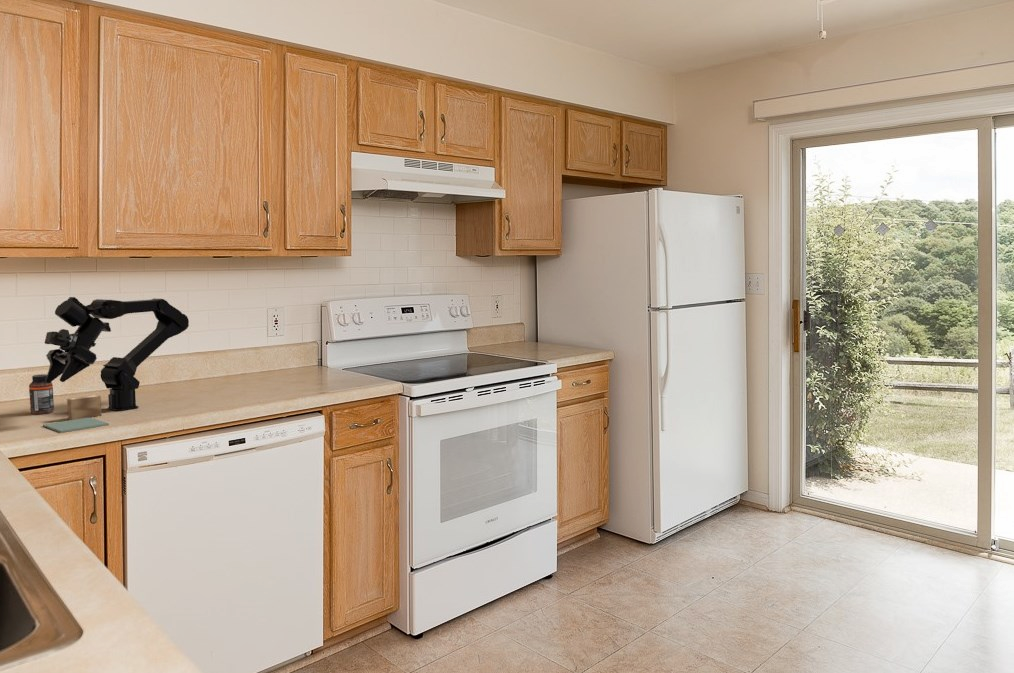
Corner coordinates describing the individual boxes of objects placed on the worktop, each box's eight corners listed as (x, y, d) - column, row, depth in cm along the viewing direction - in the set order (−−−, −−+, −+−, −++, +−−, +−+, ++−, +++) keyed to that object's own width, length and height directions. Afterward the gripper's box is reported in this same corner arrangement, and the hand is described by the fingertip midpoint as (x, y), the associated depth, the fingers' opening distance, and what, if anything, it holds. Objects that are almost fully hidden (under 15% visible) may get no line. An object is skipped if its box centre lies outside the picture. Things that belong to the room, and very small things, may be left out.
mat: (89, 419, 209) (89, 417, 209) (108, 424, 202) (108, 423, 202) (43, 426, 200) (42, 424, 200) (61, 432, 192) (60, 430, 192)
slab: (97, 415, 215) (96, 394, 214) (101, 416, 213) (100, 395, 213) (68, 419, 209) (67, 398, 208) (72, 420, 207) (70, 399, 206)
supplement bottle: (31, 411, 218) (28, 374, 217) (54, 410, 221) (52, 373, 220) (30, 415, 213) (27, 377, 212) (54, 413, 216) (51, 375, 215)
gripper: (46, 322, 213) (13, 368, 205) (75, 317, 201) (41, 364, 194) (80, 343, 220) (49, 388, 212) (110, 339, 209) (79, 386, 201)
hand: (54, 381), depth 205 cm, fingers open, 9 cm apart
